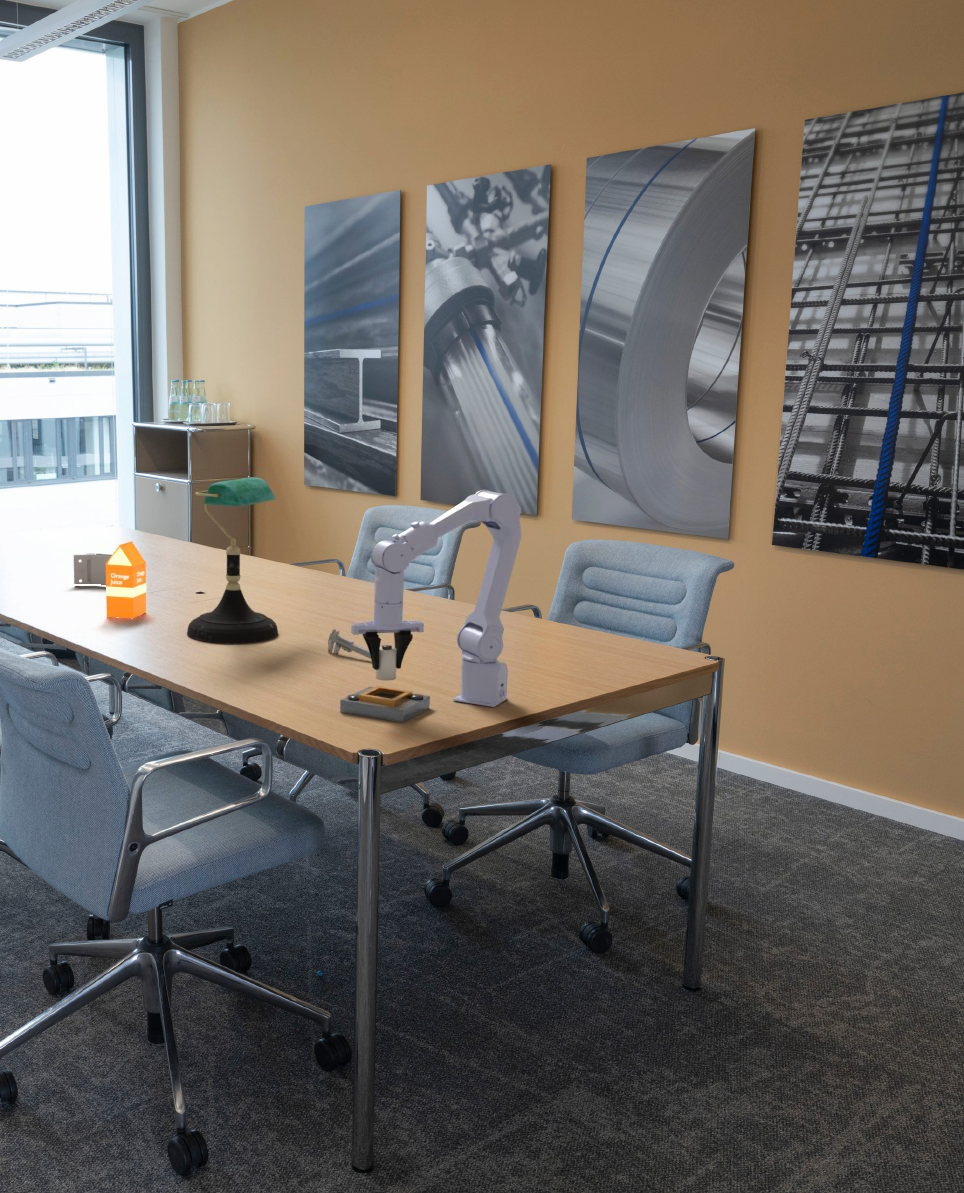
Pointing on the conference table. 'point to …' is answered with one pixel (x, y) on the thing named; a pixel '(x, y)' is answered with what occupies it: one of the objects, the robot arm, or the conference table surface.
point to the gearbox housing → (385, 703)
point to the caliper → (344, 645)
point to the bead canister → (387, 663)
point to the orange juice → (126, 582)
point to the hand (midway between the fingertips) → (386, 668)
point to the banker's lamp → (234, 574)
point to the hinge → (90, 568)
